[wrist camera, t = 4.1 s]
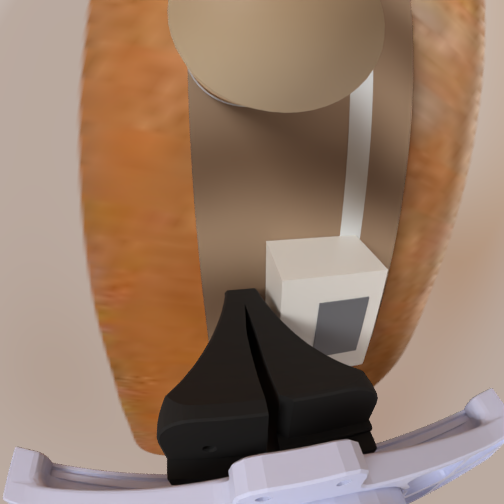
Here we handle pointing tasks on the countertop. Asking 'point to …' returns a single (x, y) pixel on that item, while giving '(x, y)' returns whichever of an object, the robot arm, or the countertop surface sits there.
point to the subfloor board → (301, 170)
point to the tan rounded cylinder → (278, 49)
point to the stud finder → (326, 292)
